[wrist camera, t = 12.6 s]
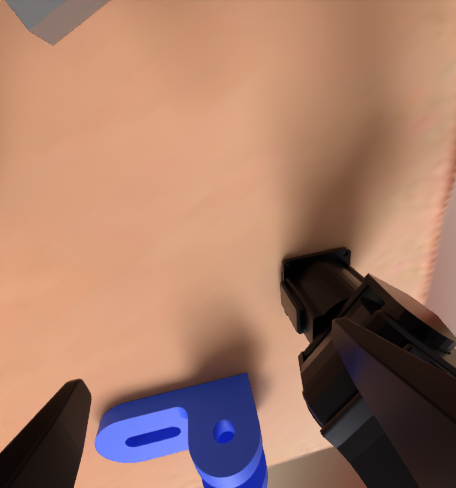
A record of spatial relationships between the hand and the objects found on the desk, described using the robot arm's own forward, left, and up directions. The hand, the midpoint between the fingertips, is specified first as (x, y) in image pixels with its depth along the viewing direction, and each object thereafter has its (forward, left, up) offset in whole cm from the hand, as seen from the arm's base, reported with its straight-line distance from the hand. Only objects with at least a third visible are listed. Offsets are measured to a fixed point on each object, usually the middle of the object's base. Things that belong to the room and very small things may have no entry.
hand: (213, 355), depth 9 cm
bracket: (+7, +23, -13) cm, 28 cm away
